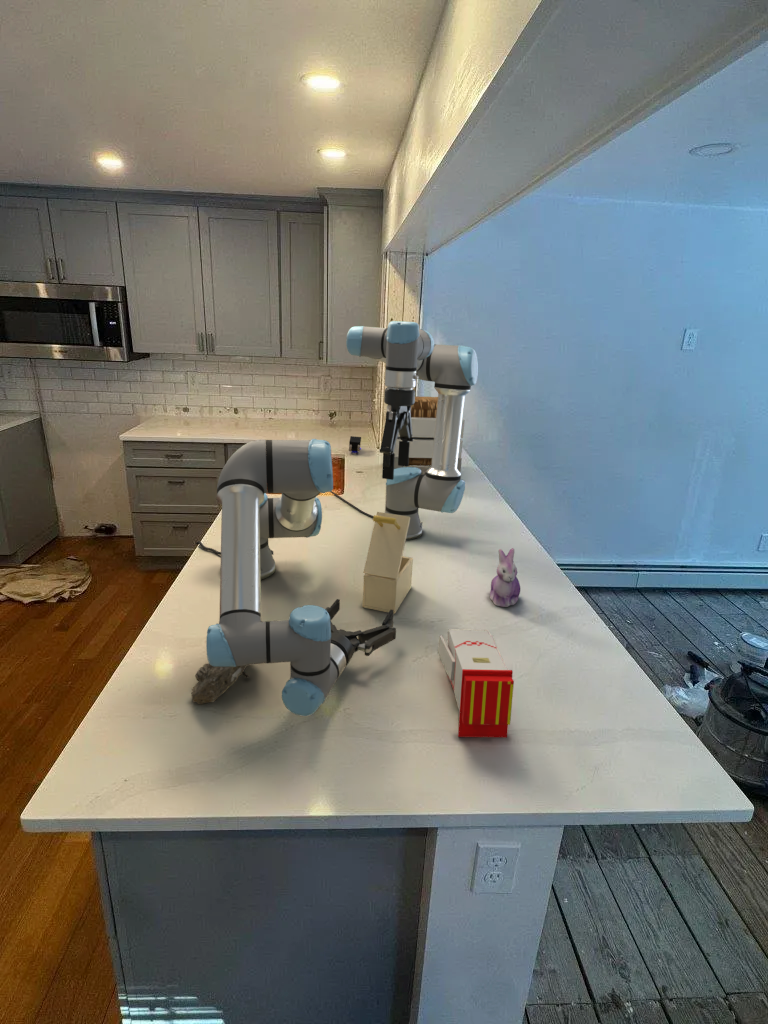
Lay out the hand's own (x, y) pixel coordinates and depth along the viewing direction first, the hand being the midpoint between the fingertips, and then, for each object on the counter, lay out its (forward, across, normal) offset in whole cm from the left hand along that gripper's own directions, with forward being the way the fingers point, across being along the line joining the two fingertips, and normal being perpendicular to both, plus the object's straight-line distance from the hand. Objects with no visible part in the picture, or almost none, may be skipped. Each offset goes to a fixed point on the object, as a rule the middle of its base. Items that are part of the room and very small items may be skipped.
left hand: (364, 609), depth 136 cm
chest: (+19, 0, -6) cm, 20 cm away
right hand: (+21, 0, +29) cm, 36 cm away
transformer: (+145, -23, -6) cm, 147 cm away
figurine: (+30, +31, -6) cm, 43 cm away
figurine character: (+169, -66, -6) cm, 182 cm away
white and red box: (-14, +28, -6) cm, 32 cm away
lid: (+17, 0, +10) cm, 20 cm away
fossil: (-26, -21, -6) cm, 34 cm away
